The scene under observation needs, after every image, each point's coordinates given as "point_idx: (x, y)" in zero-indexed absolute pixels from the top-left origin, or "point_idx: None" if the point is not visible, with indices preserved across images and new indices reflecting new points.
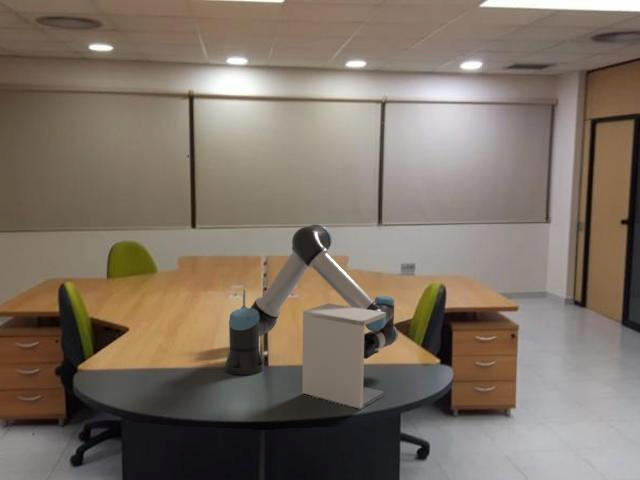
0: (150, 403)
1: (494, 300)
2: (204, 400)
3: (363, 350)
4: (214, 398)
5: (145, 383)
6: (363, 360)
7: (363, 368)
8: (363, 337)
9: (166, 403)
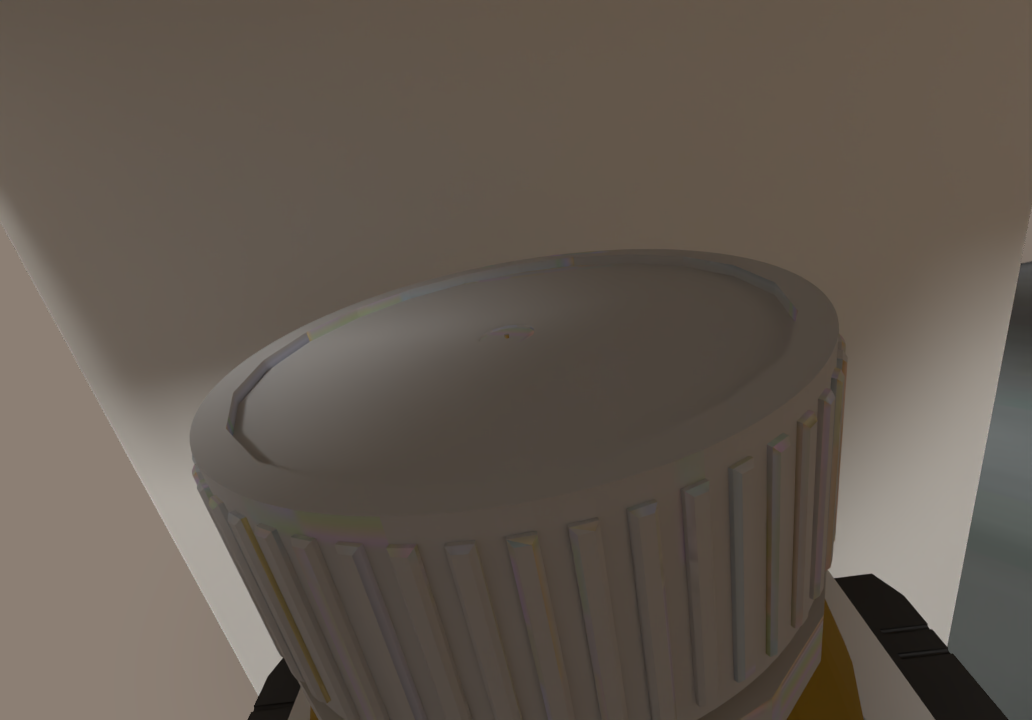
0: (1029, 295)
1: None
2: (1004, 366)
3: (86, 358)
4: (1022, 388)
5: None
6: (140, 466)
7: (177, 541)
8: (2, 190)
9: (1011, 312)
